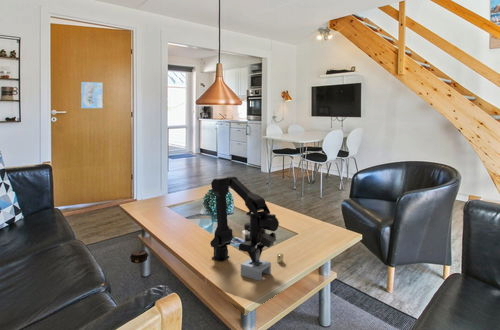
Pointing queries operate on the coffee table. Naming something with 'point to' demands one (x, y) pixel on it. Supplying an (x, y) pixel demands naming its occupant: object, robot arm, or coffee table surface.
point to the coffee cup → (139, 256)
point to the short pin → (279, 258)
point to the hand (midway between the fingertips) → (255, 261)
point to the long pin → (257, 258)
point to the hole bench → (255, 269)
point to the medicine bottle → (246, 232)
